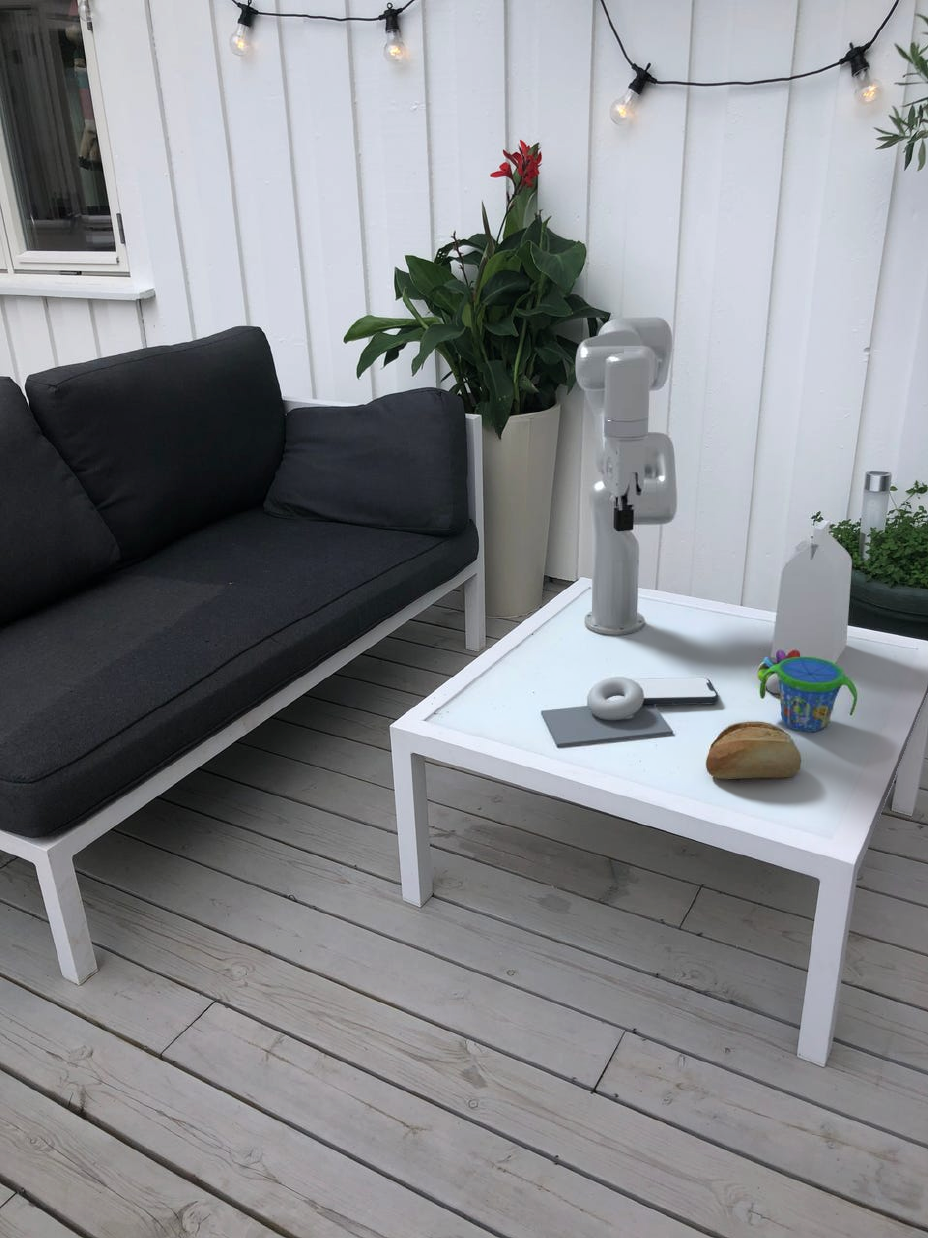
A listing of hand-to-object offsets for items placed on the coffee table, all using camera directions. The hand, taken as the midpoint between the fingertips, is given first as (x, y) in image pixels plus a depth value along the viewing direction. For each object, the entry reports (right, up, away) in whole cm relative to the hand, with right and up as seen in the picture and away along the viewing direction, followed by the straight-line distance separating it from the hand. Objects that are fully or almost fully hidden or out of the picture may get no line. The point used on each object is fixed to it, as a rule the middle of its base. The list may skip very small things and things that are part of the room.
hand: (623, 529), depth 180 cm
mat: (-4, -34, -6) cm, 35 cm away
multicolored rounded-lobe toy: (+30, -29, +5) cm, 42 cm away
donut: (-5, -28, -1) cm, 29 cm away
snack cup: (+30, -34, -8) cm, 46 cm away
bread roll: (+16, -40, -22) cm, 49 cm away
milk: (+39, -23, +18) cm, 49 cm away
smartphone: (+9, -30, +2) cm, 31 cm away
